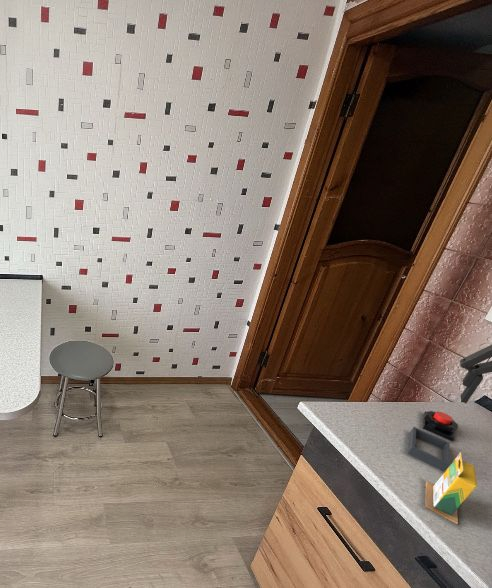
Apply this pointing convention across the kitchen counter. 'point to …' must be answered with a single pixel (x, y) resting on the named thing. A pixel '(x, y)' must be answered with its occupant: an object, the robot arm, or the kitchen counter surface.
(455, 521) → the mat
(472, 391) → the robot arm
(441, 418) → the release button
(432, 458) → the dock
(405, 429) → the kitchen counter surface
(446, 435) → the control block
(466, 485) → the crayon box
